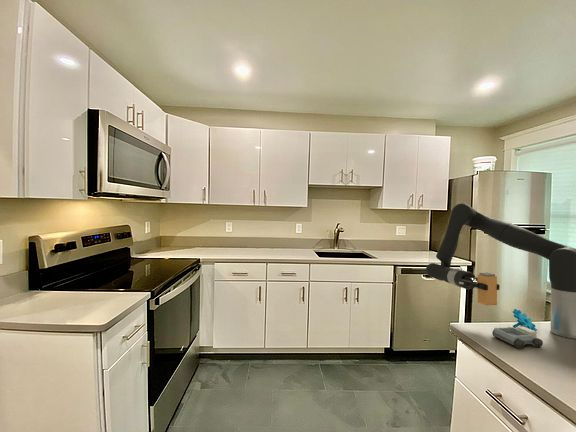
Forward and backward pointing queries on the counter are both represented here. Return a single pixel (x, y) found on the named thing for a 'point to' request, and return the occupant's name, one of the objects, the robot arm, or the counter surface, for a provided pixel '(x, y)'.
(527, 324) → the gear
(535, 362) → the counter surface
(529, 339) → the truck
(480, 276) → the orange tower grey cap
